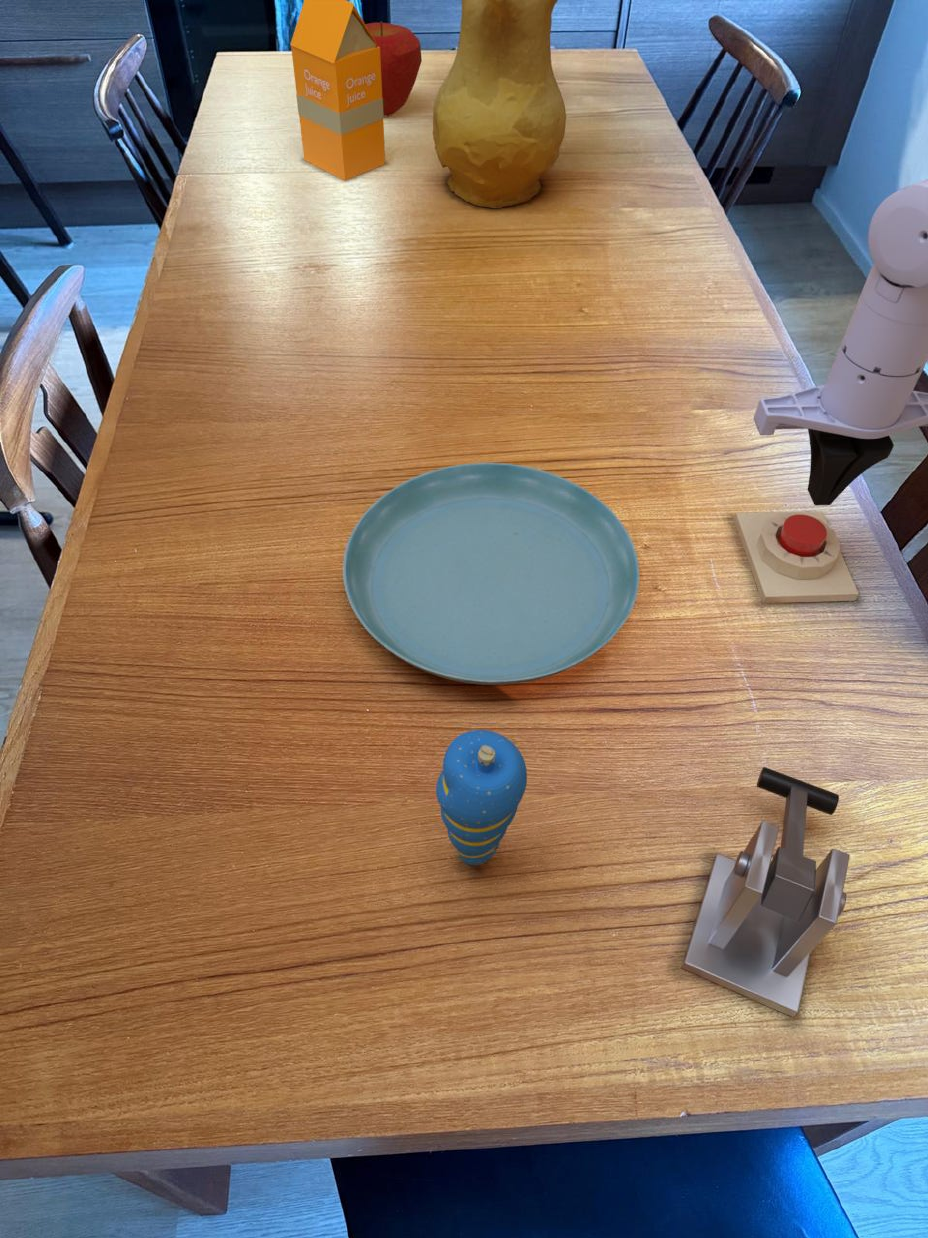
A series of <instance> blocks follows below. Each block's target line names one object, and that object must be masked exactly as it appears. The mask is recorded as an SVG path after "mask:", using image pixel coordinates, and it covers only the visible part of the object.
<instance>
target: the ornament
mask: <svg viewBox="0 0 928 1238" xmlns="http://www.w3.org/2000/svg"><path fill="white" fill-rule="evenodd" d="M527 782H528V773H527V765H526V762H525V759H524V757H523V755H522V753H521V751H520V749H519V748H518V747H517V745H516V744H514V742H512V741H511V740H510V739H508V738H507V737H505V735H502V734H500V733H498V732H495V731H491V730H485V729H474V730H469V731H468V730H467V732H463V733H462V734H460V735H458V736H457V737H455V738H454V739H453V740H452V741H451V743H450V744H449V745H448V747H447V749H446V750H445V753H444V756H443V760H442V771H441V772H440V774H439V775H438V777H437V782H436V785H435V795H436V799H437V803H438V805H439V807H440V815H441V816H440V817H441V821H442V822H443V825H444V826H445V827H446V829H447V830H446V831H447V836H448V838H449V841H450V843H451V844H452V845H453V847H454V848H455V850H456V852H457V854H458V856H459V858H460V859H461V861H463V863H465V864H467V865H470V866H479V865H482V864H485V863H486V862H488V861H489V860H490V859H492V858H493V856H494V855H495V854H496V853H497V851H498V849H499V846H500V842H501V841H502V840H503V838H504V836H505V835H506V832H507V829H508V827H509V826H510V825H511V824H512V822H513V820H514V818H515V817H516V814H517V811H518V808H519V805H520V803H521V801H522V799H523V797H524V794H525V792H526V789H527Z"/></svg>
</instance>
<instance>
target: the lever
mask: <svg viewBox="0 0 928 1238" xmlns="http://www.w3.org/2000/svg"><path fill="white" fill-rule="evenodd" d="M756 787H757V788H758V789H761V790H763V791H767V792H769V793H772V794H774V795H776V796H779V797H782V798H785V805H784V812H783V822H782V831H781V840H780V846H778V847H777V848H776V850H775V853H774V855H773V856H772V859H771V863H770V867H769V871H768V875H767V879H766V883H765V887H764V890H763V894H762V900H761V906H762V907H765V908H767V909H770V910H772V911H774V912H777V913H779V914H782V915H784V916H786V917H789V918H791V919H794V920H796V921H800V919H801V917H802V915H803V913H804V911H805V909H806V907H807V905H808V903H809V901H810V899H811V897H812V895H813V893H814V891H815V873H816V869H817V861H816V860H814V859H812V858H810V857H807V856H804V850H805V849H804V848H805V838H806V837H805V836H806V835H805V834H806V821H807V808H811V809H813V810H816V811H819V812H822V813H823V814H826V815H829V816H832V815H834V814H835V812H836V809H837V807H838V804H839V801H840V795H839V794H838V793H835V792H832V791H830V790H828V789H824V788H821V787H820V786H819V787H818V786H817V785H814V784H811V783H808V782H805V781H803V780H800V779H797V778H795V777H792V776H790V775H787V774H784V773H782V772H779V771H777V770H773V769H772V768H768V767H766V766H763V767H762V768H761V771H760V773H759V776H758V778H757V782H756Z"/></svg>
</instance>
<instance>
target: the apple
mask: <svg viewBox="0 0 928 1238" xmlns="http://www.w3.org/2000/svg"><path fill="white" fill-rule="evenodd" d="M365 25H366V27H367V28H368V30H369V32H370V33H371V35H372V37H373V38H374V40H375V42H376V43H377V45H378V46H379V47H380V61H381V82H382V98H383V115H384V117H389V116H393V115H394V114H396V112H398V111H399V110H400V109H401V108H403V107H404V106H405V105H406V103H407V102H408V99H409V97H410V95H411V93H412V90H413V88H414V86H415V83H416V81H417V77H418V74H419V71H420V67H421V66H422V65H421V64H422V62H423V61H422V46H421V42H420V39H419V38H418V37H417V36H416V35H415V33H413V31H412V30H410V28H407V27H405V26H402V25H399V24H393V23H388V22H383V20H381V21H380V22H371V23H365Z"/></svg>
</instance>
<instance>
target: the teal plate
mask: <svg viewBox="0 0 928 1238" xmlns="http://www.w3.org/2000/svg"><path fill="white" fill-rule="evenodd" d="M347 540H348V541H347V543H346V546H345V550H344V553H343V560H342V561H343V562H342V579H343V586H344V590H345V594H346V596H347V597H346V598H347V599H348V602H349V605H350V607H351V609H352V611H353V613H354V614H355V616H356V618H357V619H358V621H359V622H360V623H361V625H362V627H364V630H366V631H367V632H368V633H369V634H370V635H371V637H372V638H373V639H374V640H375V641H377V642H378V644H380V645H381V646H382V647H383V648H384V649H386V650H387V651H388V652H389V653H391V654H392V655H394V656H395V657H396V658H398V659H399V660H401V661H403V662H405V663H407V664H408V665H409V666H413V667H414V668H416V669H419V670H420V671H423V672H425V673H428V674H431V675H433V676H436V677H439V678H443V679H446V680H451V681H454V682H458V683H459V682H460V683H466V684H472V685H481V686H483V685H484V686H500V685H501V686H503V685H515V684H516V685H517V684H525V683H530V682H534V681H539V680H544V679H546V678H549V677H552V676H555V675H558V674H560V673H563V672H565V671H567V670H570V669H571V668H572V669H573V667H577V665H579V664H582V663H583V662H585V661H586V660H588V659H589V658H591V657H592V656H593V655H596V654H597V653H599V651H600V650H601V649H603V648H604V647H605V646H606V645H607V644H608V643H609V642H611V640H612V639H613V638H614V637H615V636H616V635H617V634H618V633H619V632H620V631H621V630H622V627H623V626H624V624H626V622H627V620H628V618H629V616H630V615H631V613H632V611H633V609H634V606H635V604H636V600H637V598H638V593H639V586H640V565H639V559H638V558H639V557H638V554H637V551H636V548H635V544H634V542H633V540H632V538H631V536H630V534H629V532H628V531H627V529H626V527H625V526H624V524H623V523H622V521H621V520H620V519H619V518H618V516H617V515H616V514H615V513H614V511H613V510H612V509H611V508H609V506H607V504H605V503H604V502H603V501H602V500H601V499H599V497H597V496H595V495H594V494H593V493H591V492H590V491H589V490H586V489H585V488H584V487H581V486H580V485H578V484H577V483H574V482H572V481H570V480H569V479H566V478H564V477H562V476H560V475H557V474H554V473H551V472H548V471H546V470H542V469H539V468H534V467H529V466H525V465H519V464H513V463H505V462H504V463H503V462H473V463H464V464H456V465H450V466H445V467H441V468H437V469H434V470H430V471H427V472H424V473H421V474H419V475H417V476H414V477H412V478H410V479H408V480H405V481H404V482H401V483H400V484H398V485H397V486H395V487H393V488H391V490H389V491H388V492H387V491H386V493H385V494H383V495H381V497H379V498H378V499H377V500H376V501H375V502H373V503H372V505H370V507H369V508H368V509H367V510H366V511H365V512H364V513H363V514H362V516H361V517H360V518H359V520H358V521H357V523H356V524H355V526H354V527H353V529H352V531H351V534H350V535H349V538H348V539H347Z"/></svg>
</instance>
